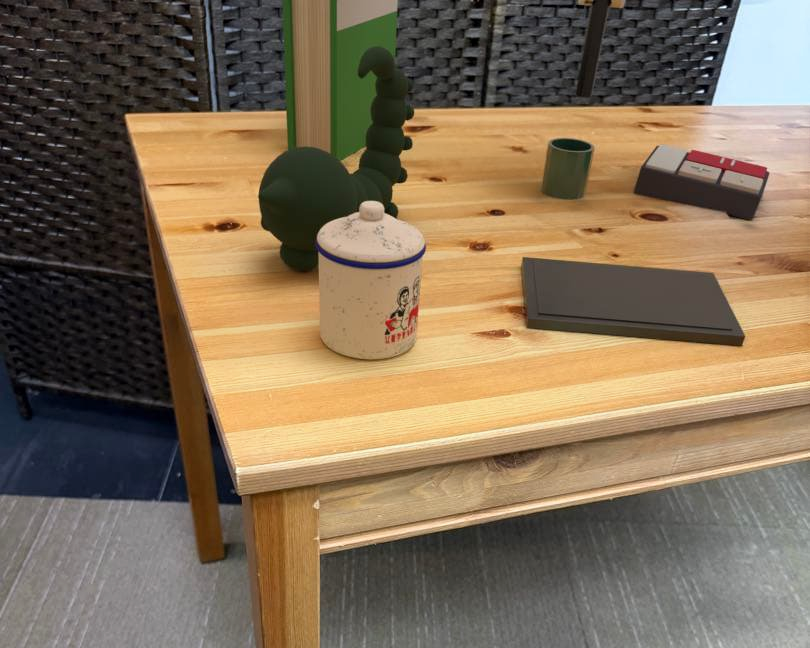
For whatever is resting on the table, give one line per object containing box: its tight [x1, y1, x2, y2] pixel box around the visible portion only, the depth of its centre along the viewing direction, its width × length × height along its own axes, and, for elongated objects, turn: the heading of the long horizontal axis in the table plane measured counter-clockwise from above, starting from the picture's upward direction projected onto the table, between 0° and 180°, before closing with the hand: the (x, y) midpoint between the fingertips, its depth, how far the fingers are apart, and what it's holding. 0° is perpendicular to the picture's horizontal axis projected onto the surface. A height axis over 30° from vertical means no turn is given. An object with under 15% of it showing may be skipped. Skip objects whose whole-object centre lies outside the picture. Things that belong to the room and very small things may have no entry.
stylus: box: [575, 0, 610, 99], centre depth 85 cm, size 2×2×15 cm
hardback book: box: [281, 0, 399, 162], centre depth 107 cm, size 18×7×24 cm, turn 156°
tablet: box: [521, 256, 746, 347], centre depth 80 cm, size 20×14×1 cm
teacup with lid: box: [315, 201, 427, 360], centre depth 70 cm, size 12×9×12 cm
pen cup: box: [540, 137, 596, 201], centre depth 101 cm, size 6×6×6 cm
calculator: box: [633, 143, 771, 221], centre depth 104 cm, size 11×4×15 cm
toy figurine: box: [257, 46, 415, 272], centre depth 81 cm, size 9×19×25 cm
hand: (602, 2), depth 84 cm, fingers closed on stylus, 2 cm apart
